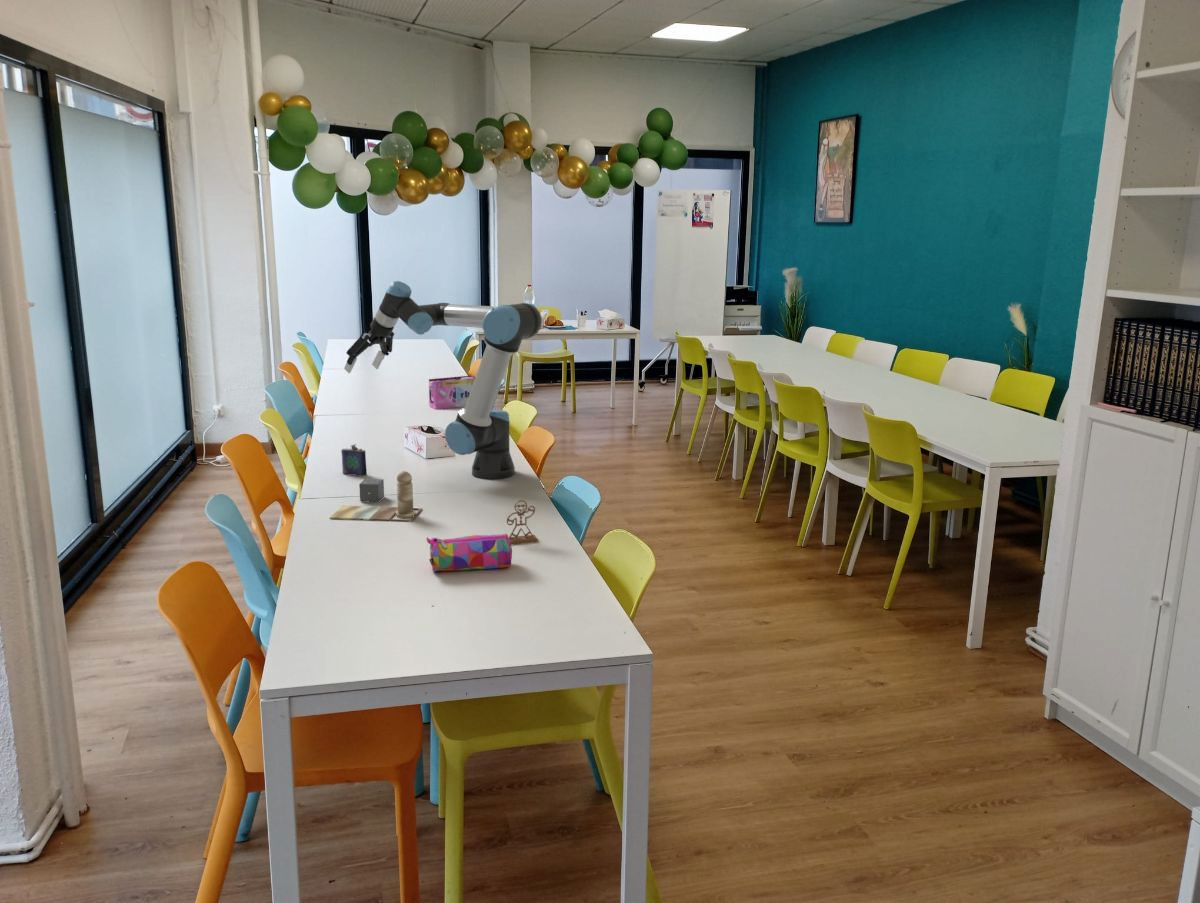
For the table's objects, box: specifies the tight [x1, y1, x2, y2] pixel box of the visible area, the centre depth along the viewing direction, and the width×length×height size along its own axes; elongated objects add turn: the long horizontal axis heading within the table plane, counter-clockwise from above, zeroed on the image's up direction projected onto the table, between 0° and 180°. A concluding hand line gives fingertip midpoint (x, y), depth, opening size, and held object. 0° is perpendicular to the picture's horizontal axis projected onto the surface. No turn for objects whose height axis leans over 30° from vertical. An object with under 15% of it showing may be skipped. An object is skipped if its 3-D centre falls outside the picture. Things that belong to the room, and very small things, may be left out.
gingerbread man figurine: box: [506, 499, 539, 546], centre depth 258 cm, size 9×4×12 cm, turn 109°
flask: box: [340, 444, 368, 476], centre depth 324 cm, size 9×3×11 cm, turn 73°
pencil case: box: [425, 533, 513, 573], centre depth 238 cm, size 22×9×9 cm, turn 102°
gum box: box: [428, 375, 476, 410], centre depth 445 cm, size 24×8×14 cm, turn 124°
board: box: [329, 505, 423, 522], centre depth 282 cm, size 25×12×1 cm, turn 87°
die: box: [359, 478, 385, 503], centre depth 296 cm, size 6×6×6 cm
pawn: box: [395, 471, 417, 519], centre depth 279 cm, size 6×6×14 cm
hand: (361, 368), depth 332 cm, fingers open, 13 cm apart
